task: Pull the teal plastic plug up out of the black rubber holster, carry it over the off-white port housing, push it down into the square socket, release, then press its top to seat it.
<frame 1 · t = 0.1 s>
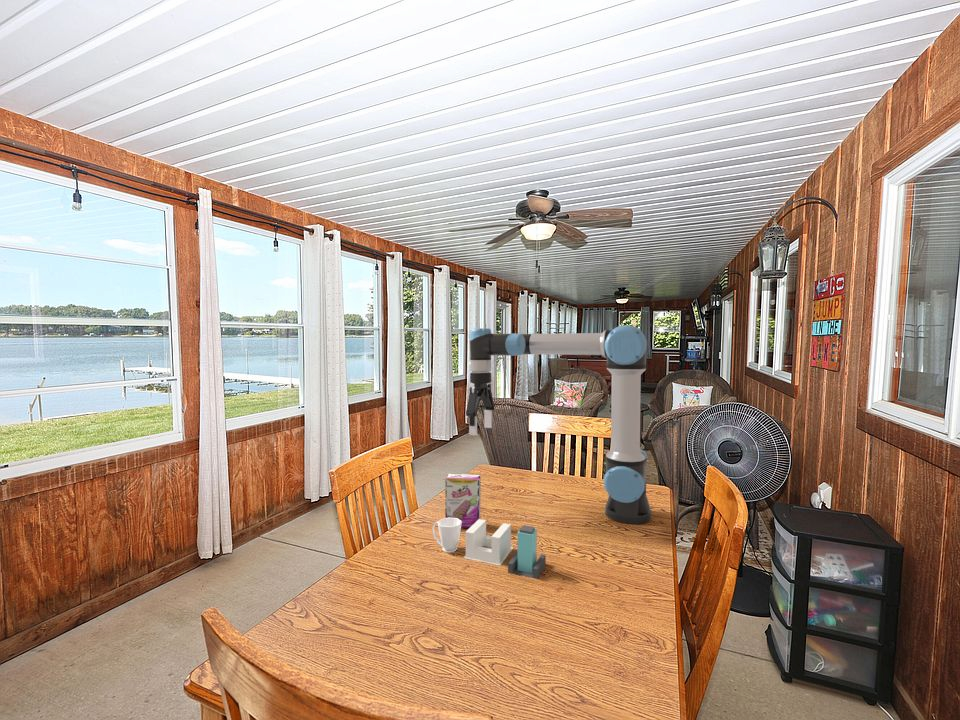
hand: (480, 431, 157), 28 cm above the table, fingers open, 13 cm apart
cup: (446, 548, 128), on the table
plug: (527, 568, 115), point 1 cm above the table, touching holster
candy bar box: (463, 526, 143), on the table
port: (488, 554, 124), on the table
holster: (527, 570, 115), on the table
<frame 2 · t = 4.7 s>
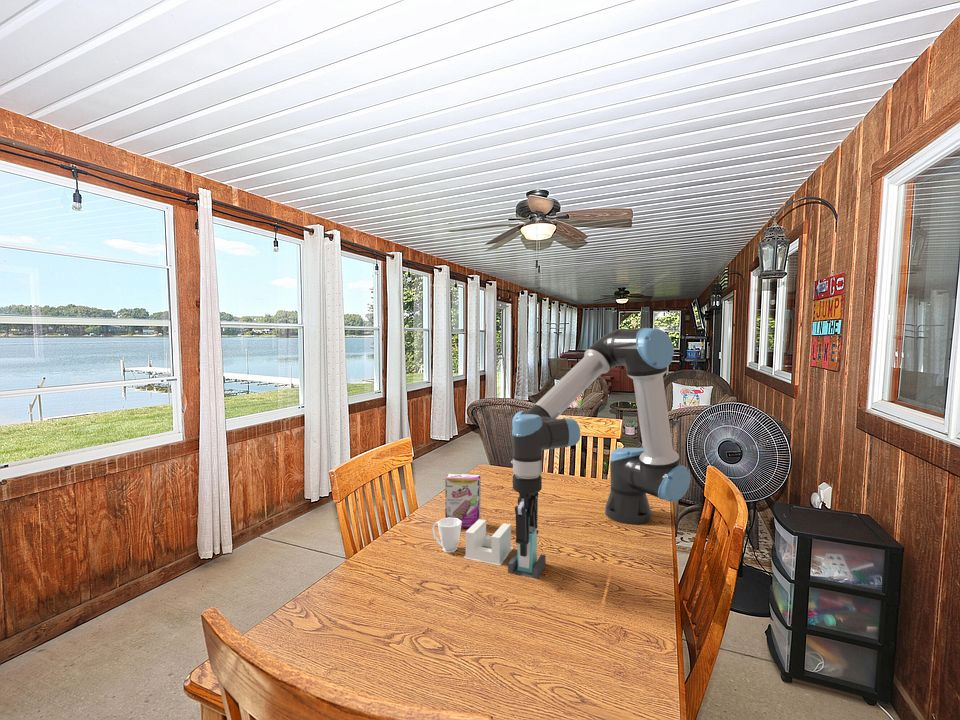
hand: (527, 562, 115), 2 cm above the table, fingers closed on plug, 4 cm apart
plug: (527, 567, 115), point 1 cm above the table, touching gripper, holster
everything else where it was.
when the fingers open (4 cm above the table, at t = 9.6 s): plug drops 2 cm, resting on port.
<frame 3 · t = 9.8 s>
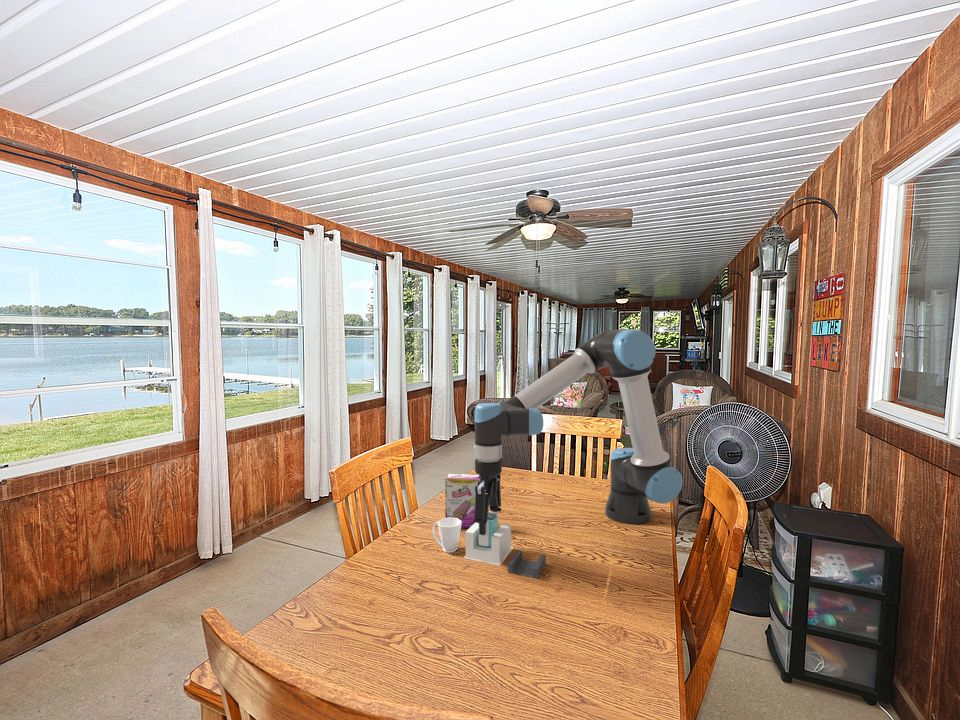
hand: (488, 539, 124), 4 cm above the table, fingers open, 7 cm apart
plug: (488, 552, 124), point 1 cm above the table, touching port
everything else where it was.
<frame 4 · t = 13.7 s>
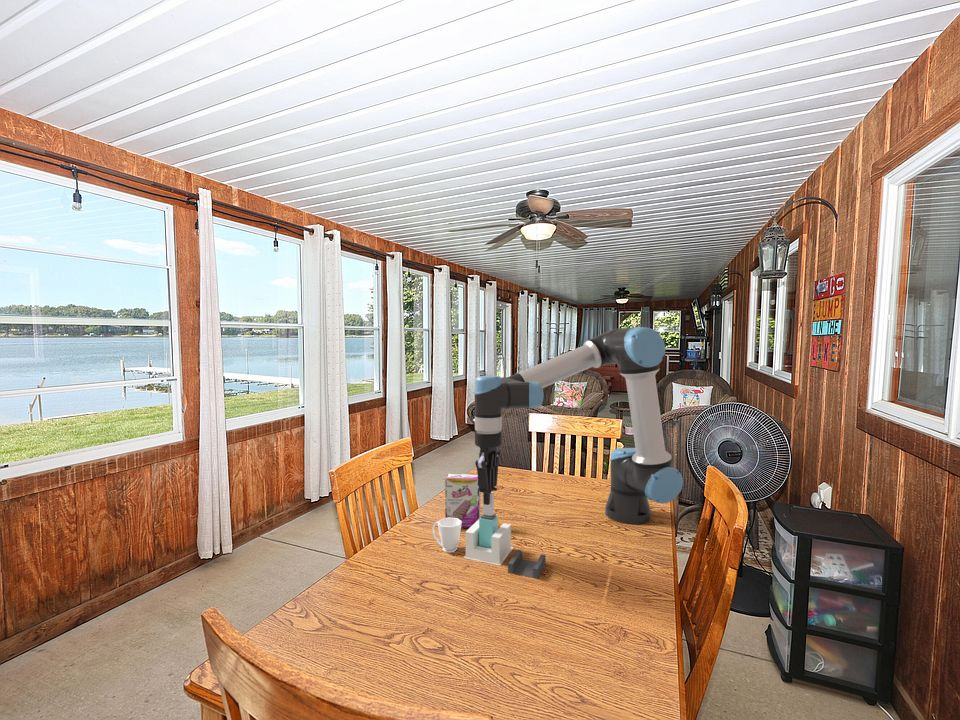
hand: (488, 514, 123), 12 cm above the table, fingers closed
plug: (488, 552, 124), point 1 cm above the table, touching gripper, port
everything else where it was.
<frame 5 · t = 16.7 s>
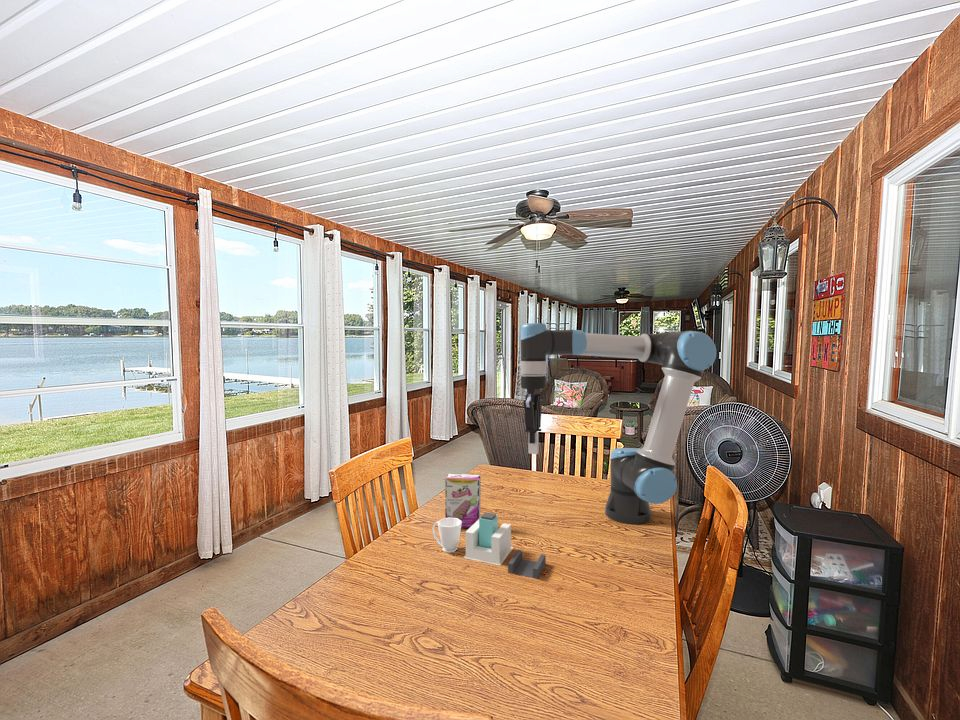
hand: (533, 453, 132), 26 cm above the table, fingers closed
plug: (488, 552, 124), point 1 cm above the table, touching port
everything else where it was.
at the end: plug 0.0 cm off-centre on the port, point 0.7 cm above the port's base; plug tilted 0°; the gripper is holding nothing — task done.
